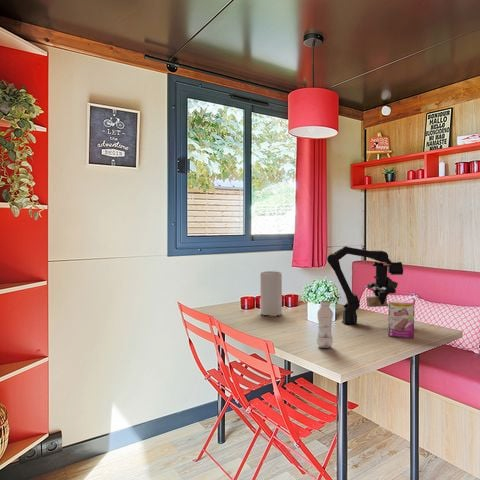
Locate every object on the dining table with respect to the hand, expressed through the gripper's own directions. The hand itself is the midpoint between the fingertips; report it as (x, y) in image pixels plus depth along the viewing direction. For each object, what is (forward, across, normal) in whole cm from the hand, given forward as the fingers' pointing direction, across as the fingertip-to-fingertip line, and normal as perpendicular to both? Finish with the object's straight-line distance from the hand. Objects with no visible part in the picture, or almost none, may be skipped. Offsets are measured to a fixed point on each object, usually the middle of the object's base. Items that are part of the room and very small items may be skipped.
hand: (381, 304), depth 197 cm
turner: (+1, 0, -1) cm, 1 cm away
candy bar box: (+11, -21, +2) cm, 24 cm away
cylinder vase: (+11, +32, +52) cm, 62 cm away
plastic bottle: (+11, -31, +43) cm, 54 cm away
